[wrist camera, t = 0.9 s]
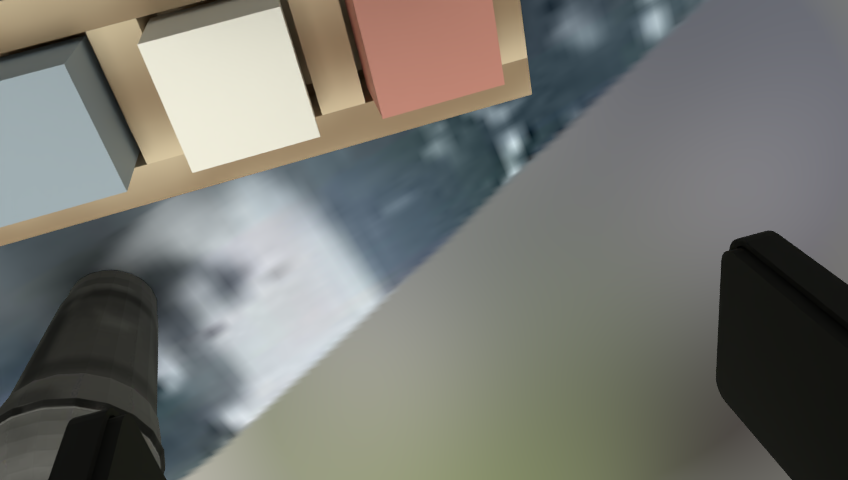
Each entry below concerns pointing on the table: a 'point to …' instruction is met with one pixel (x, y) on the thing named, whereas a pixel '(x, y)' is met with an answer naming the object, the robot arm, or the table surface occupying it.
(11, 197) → the blue key
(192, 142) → the white key
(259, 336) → the table surface
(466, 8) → the red key
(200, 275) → the table surface
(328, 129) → the key box
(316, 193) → the table surface
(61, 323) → the beverage cup
